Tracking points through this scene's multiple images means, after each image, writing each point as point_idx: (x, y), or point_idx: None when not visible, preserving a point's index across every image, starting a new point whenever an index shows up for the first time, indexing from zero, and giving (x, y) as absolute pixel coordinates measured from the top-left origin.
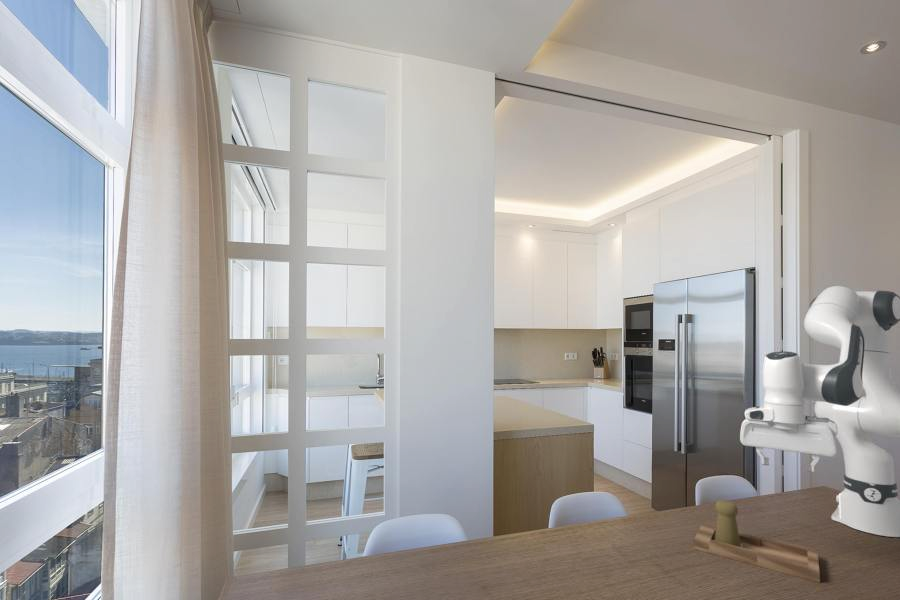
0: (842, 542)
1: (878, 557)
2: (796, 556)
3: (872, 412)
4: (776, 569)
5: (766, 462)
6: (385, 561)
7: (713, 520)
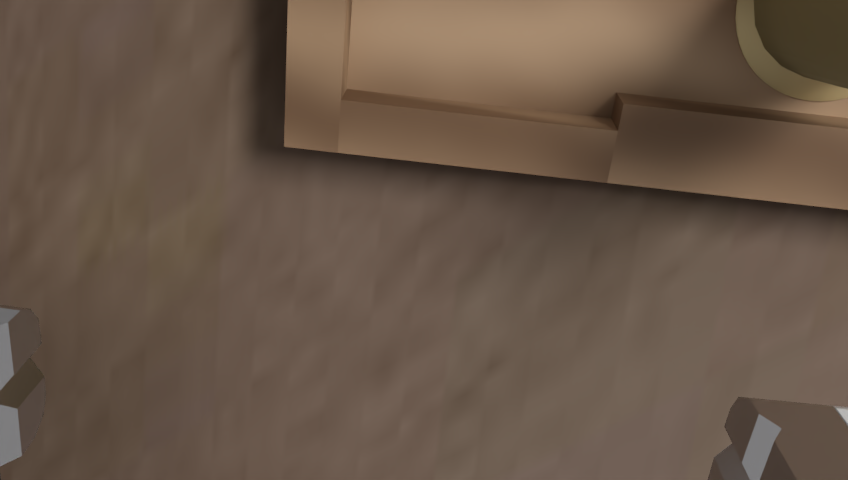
0: (164, 457)
1: None
2: (410, 53)
3: None
4: None
5: (804, 425)
6: None
7: None
